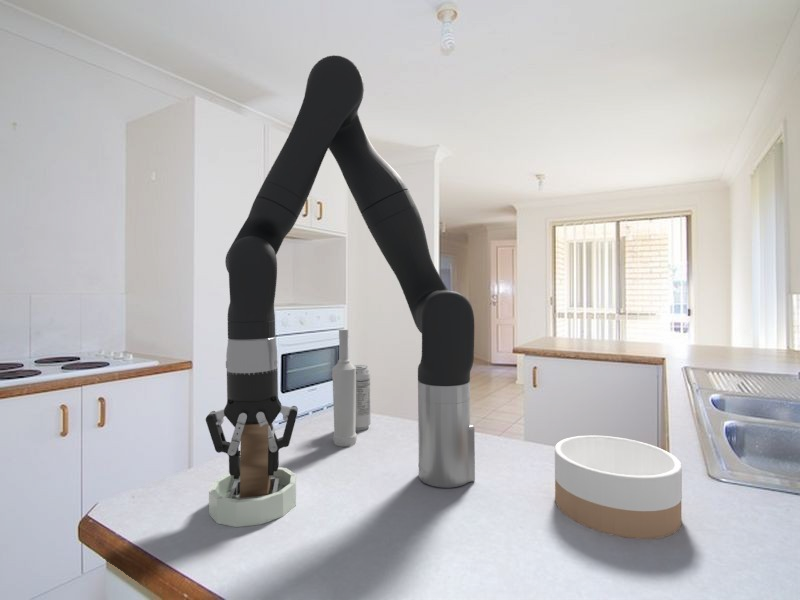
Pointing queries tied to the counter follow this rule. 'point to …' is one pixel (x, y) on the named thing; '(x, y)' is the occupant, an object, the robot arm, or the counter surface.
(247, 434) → the brown wooden block
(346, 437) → the bottle
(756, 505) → the counter surface
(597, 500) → the bowl
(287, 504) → the pale green faceted dish
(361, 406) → the energy drink can
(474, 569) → the counter surface
